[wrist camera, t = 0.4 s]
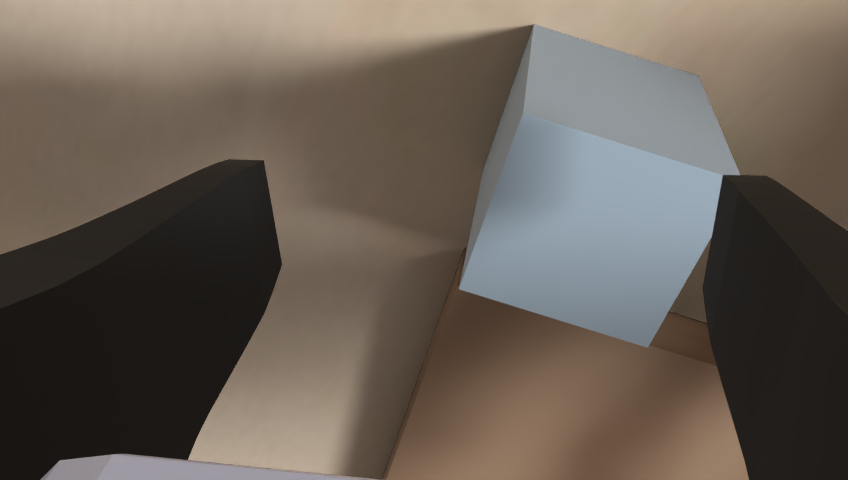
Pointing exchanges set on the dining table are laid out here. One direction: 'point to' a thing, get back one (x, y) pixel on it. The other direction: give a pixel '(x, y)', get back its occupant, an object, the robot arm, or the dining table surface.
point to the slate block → (596, 188)
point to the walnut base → (563, 401)
